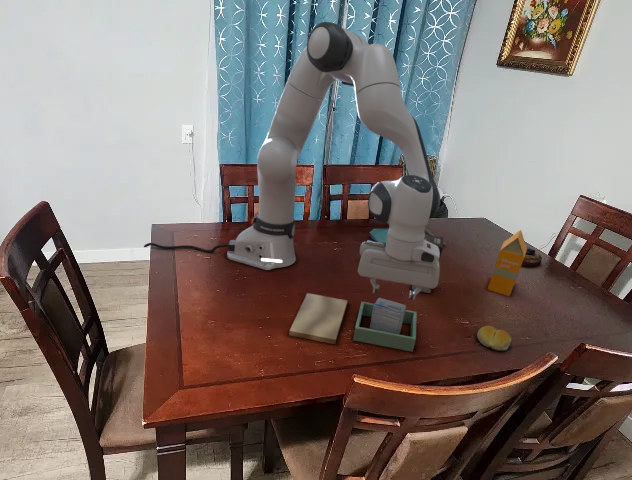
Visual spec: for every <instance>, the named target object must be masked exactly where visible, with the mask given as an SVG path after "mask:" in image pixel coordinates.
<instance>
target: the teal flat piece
mask: <svg viewBox="0 0 632 480" xmlns="http://www.w3.org/2000/svg"><path fill="white" fill-rule="evenodd" d="M388 230H389V227H377V228H373V229H372V230H370V232H369V237H370V238H371V240H372V241H374V242H382V243H386V239H387V233H388ZM425 233H427V234H428V235H433V236H435V235H434V234H433V233H432V232H431V231H430V230H429V229H428V228H425ZM443 245H446V243H445V242H444V241H443Z"/></svg>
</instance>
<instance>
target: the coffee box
mask: <svg viewBox="0 0 632 480" xmlns="http://www.w3.org/2000/svg"><path fill="white" fill-rule="evenodd" d="M433 235H434V234H433ZM433 235H430V234H426V233H425V238H424V240H426V241H428V242H430V243H432V244H434V245H436V246H437V247H438V248H439V252H440V257H439V261H441V260H440V259H441V257H442V253H443V249H444V244H443V242H444V237H442V236H439V235H434V236H433ZM415 289H416V286H415V285H411V291H414V290H415ZM432 290H433V289H432V288H426V287H422V290H421V291H420V293H426V294H431V293H432Z"/></svg>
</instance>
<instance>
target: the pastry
mask: <svg viewBox="0 0 632 480" xmlns="http://www.w3.org/2000/svg"><path fill="white" fill-rule="evenodd" d="M526 247H527V251H526V254H525V258H524V259H523V262H522V265H521V267H522V268H536V267H539V266H540V265H541V263H542V260H543V257H542V255H541V254H540V253H538V252H536V250H535V249H533V248H532V247H530V246H528V245H526Z"/></svg>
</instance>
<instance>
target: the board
mask: <svg viewBox="0 0 632 480" xmlns="http://www.w3.org/2000/svg"><path fill="white" fill-rule="evenodd" d="M347 305H348V300H346V299H340V298H335V297H331V296H326V295H319V294H314V293H309V292H307V293H306V294H305V297H304V299H303V301H302V303H301V305H300V307H299V309H298V312H297V314H296V316H295V318H294V320H293V322H292V324H291V327H290V329H289V331H288V332H289V333H288V336H291V337H295V338H299V339H300V338H301V339H306V340H310V341H315V342H321V343H327V344H332V345H336V343H337V340H338V336H339V333H340V329H341V326H342V323H343V319H344V316H345V313H346V309H347Z"/></svg>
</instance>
